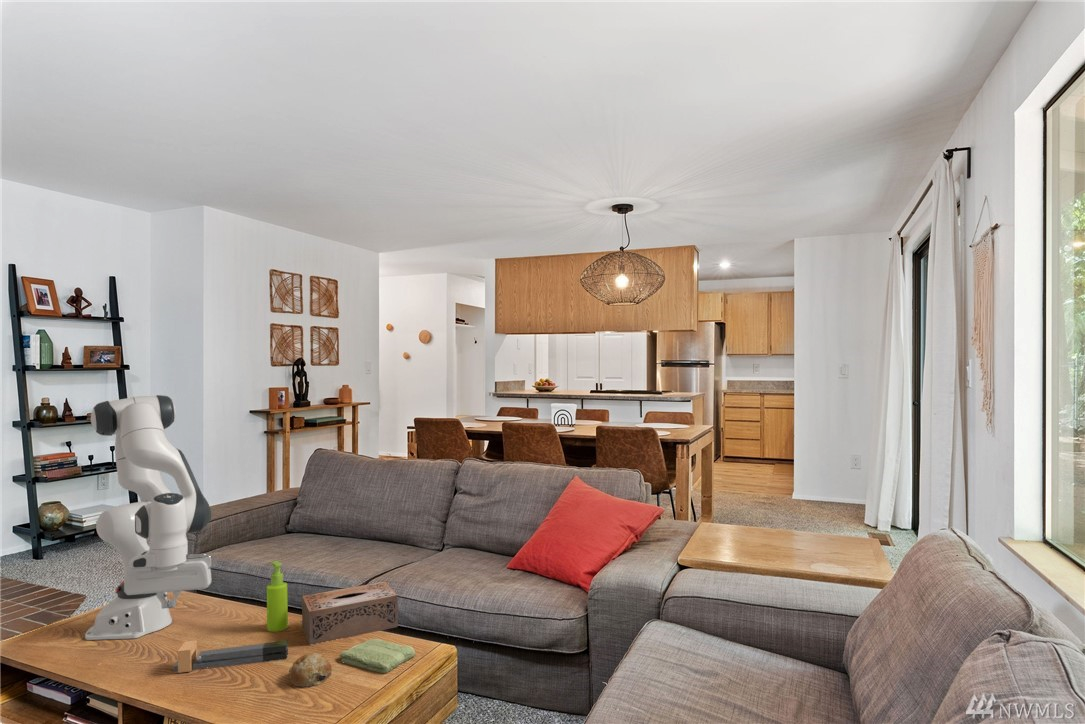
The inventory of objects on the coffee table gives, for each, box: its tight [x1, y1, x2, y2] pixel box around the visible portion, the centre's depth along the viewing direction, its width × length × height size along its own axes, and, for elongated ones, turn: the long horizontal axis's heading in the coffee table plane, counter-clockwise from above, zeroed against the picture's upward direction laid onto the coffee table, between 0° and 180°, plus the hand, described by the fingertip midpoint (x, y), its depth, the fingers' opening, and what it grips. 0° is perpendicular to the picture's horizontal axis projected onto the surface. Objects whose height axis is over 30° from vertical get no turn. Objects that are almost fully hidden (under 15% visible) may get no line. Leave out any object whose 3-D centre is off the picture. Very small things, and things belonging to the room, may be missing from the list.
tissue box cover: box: [301, 581, 399, 646], centre depth 196 cm, size 26×14×10 cm, turn 119°
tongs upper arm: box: [195, 640, 289, 662], centre depth 174 cm, size 23×3×2 cm, turn 104°
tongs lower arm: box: [173, 647, 289, 673], centre depth 173 cm, size 28×3×2 cm, turn 104°
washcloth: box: [339, 638, 416, 674], centre depth 175 cm, size 13×18×3 cm
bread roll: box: [288, 652, 332, 688], centre depth 164 cm, size 10×10×8 cm
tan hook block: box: [177, 640, 198, 674], centre depth 171 cm, size 3×6×6 cm, turn 14°
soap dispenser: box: [266, 560, 289, 633], centre depth 197 cm, size 6×7×20 cm
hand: (168, 607), depth 170 cm, fingers closed
